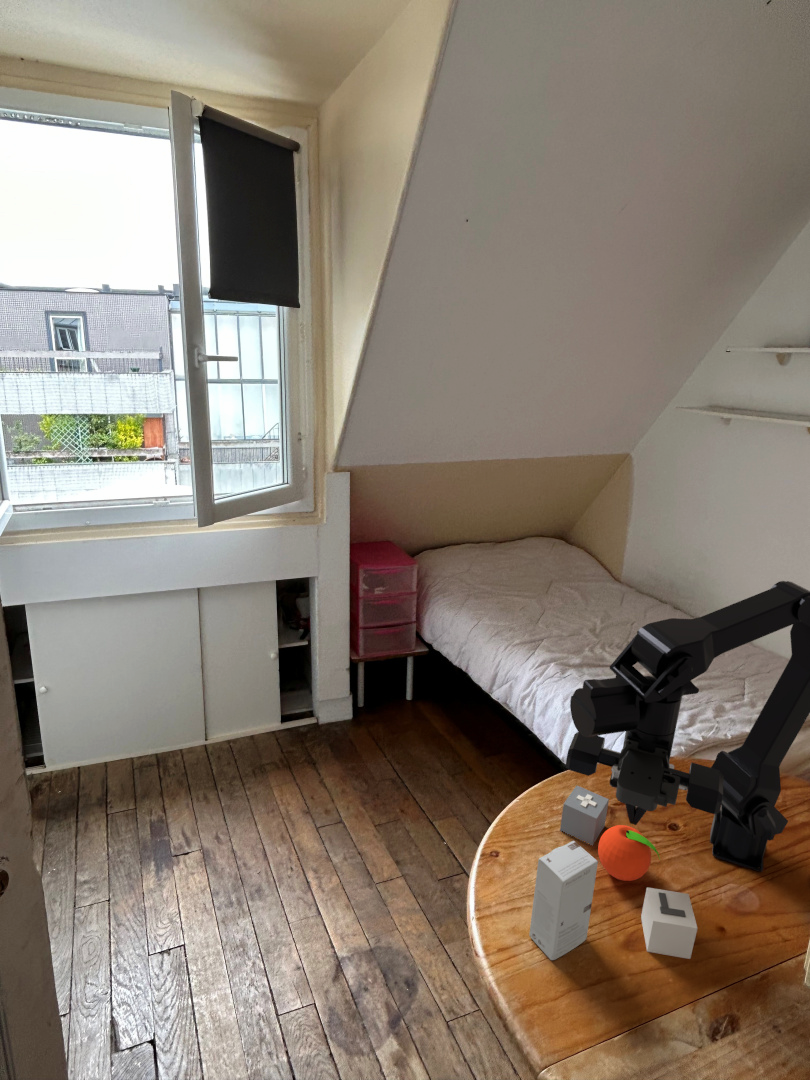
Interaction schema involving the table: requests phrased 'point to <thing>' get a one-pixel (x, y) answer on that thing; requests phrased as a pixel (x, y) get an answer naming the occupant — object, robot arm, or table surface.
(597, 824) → the slate block
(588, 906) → the skincare box
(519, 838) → the table surface
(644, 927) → the pale grey block
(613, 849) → the clementine
